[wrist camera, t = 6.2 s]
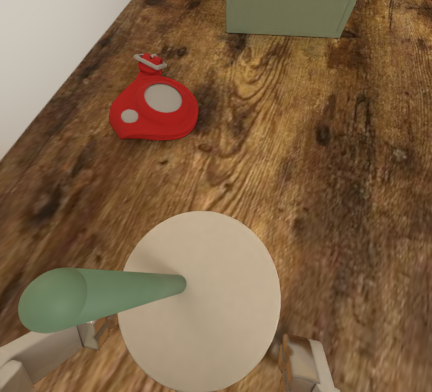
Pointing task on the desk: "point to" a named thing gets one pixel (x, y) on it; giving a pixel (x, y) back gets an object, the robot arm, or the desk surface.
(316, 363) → the robot arm
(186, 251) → the paper cup
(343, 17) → the bin
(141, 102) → the red flat rounded piece
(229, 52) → the desk surface
